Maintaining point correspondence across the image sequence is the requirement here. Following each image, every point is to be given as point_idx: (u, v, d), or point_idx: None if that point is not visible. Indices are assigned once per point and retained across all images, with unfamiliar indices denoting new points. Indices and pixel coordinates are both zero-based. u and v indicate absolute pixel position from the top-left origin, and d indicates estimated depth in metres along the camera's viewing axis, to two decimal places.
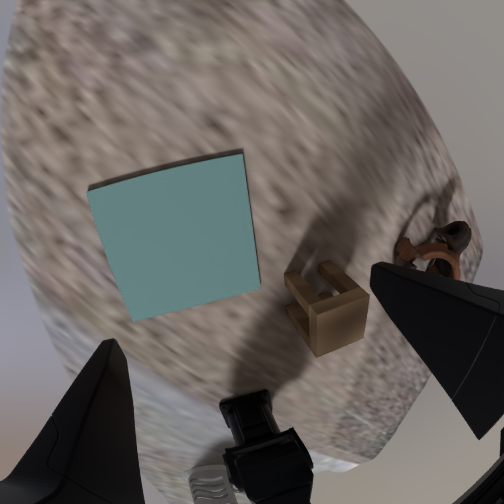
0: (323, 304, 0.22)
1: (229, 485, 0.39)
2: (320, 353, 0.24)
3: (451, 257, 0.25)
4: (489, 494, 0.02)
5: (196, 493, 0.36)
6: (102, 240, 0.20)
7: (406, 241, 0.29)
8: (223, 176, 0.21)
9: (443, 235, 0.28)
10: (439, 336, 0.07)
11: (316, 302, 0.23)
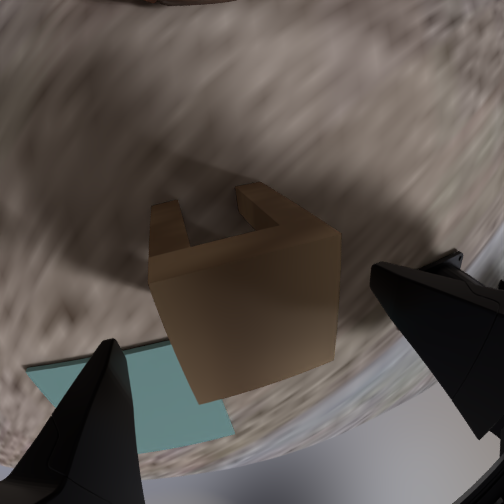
0: None
1: None
2: (325, 356, 0.09)
3: None
4: (489, 494, 0.02)
5: None
6: (146, 452, 0.19)
7: None
8: (55, 387, 0.14)
9: None
10: (439, 336, 0.07)
11: None
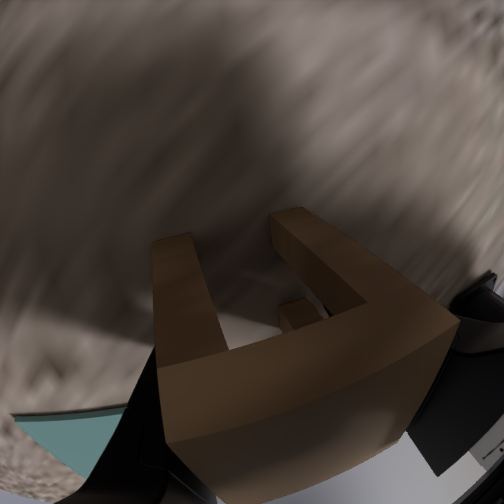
0: None
1: None
2: (391, 443, 0.06)
3: None
4: (489, 494, 0.02)
5: None
6: None
7: None
8: (48, 437, 0.10)
9: None
10: None
11: None
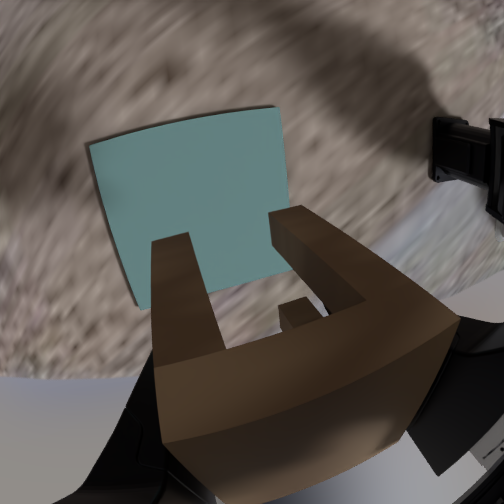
0: None
1: None
2: (391, 442, 0.06)
3: None
4: (489, 494, 0.02)
5: None
6: None
7: None
8: (116, 165, 0.15)
9: None
10: None
11: None
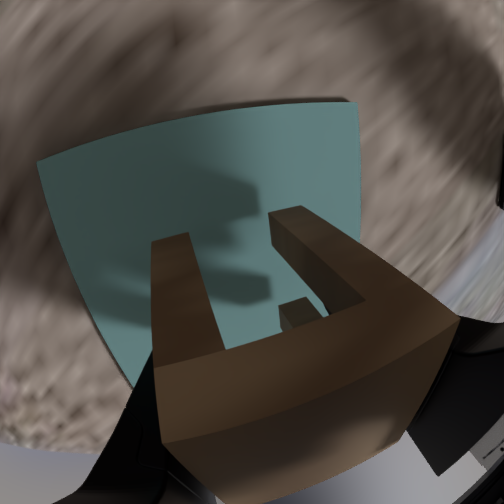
0: None
1: None
2: (391, 442, 0.06)
3: None
4: (489, 494, 0.02)
5: None
6: None
7: None
8: (83, 196, 0.08)
9: None
10: None
11: None
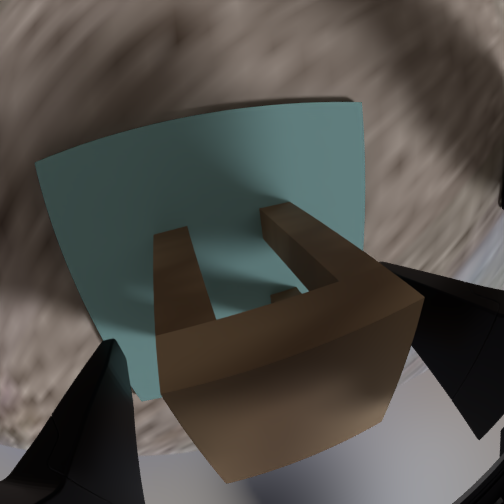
0: None
1: None
2: (374, 421, 0.07)
3: None
4: (489, 494, 0.02)
5: None
6: None
7: None
8: (82, 197, 0.08)
9: None
10: (439, 336, 0.07)
11: None
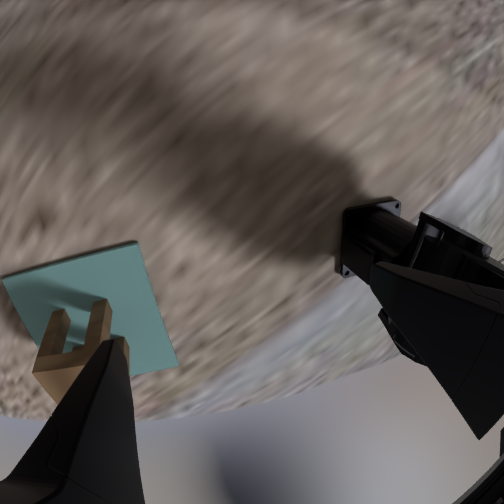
0: None
1: None
2: None
3: None
4: (489, 494, 0.02)
5: None
6: None
7: None
8: (23, 295, 0.17)
9: None
10: (439, 336, 0.07)
11: None
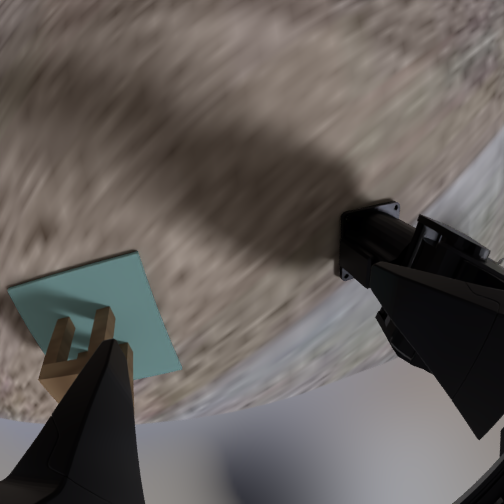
0: None
1: None
2: None
3: None
4: (489, 494, 0.02)
5: None
6: None
7: None
8: (28, 304, 0.17)
9: None
10: (439, 336, 0.07)
11: None
